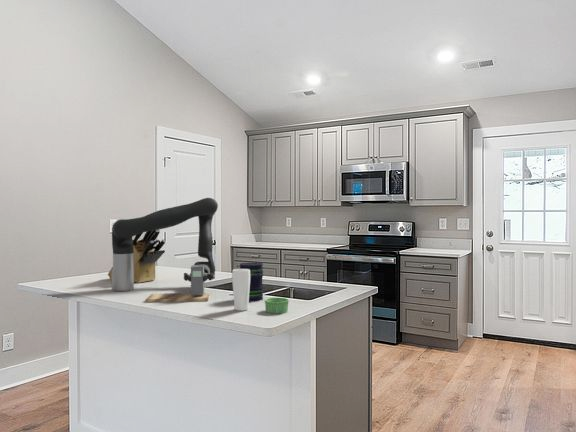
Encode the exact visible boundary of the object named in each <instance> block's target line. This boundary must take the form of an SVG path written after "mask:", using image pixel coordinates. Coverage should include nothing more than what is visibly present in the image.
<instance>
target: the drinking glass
mask: <svg viewBox="0 0 576 432" xmlns="http://www.w3.org/2000/svg"><path fill="white" fill-rule="evenodd" d="M231 274H232V275H231V279H232V280H231V281H232V283H231V284H232V293H233V294H232V295H233V305H234V306H233V309H234V311H237V312H238V311H239V312H244V311H248V310H249V303H250V302H249V291H250V269H240V268H234V269H232V273H231Z"/></svg>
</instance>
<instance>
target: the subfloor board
mask: <svg viewBox="0 0 576 432" xmlns="http://www.w3.org/2000/svg"><path fill="white" fill-rule="evenodd" d="M210 296H211V293H210V292H204V294H203V295H191V292H190V293H181V292H174V293H173V292H169V293H168V292H166V293H151V294H150V295H149V296H147V297H146V299H145V303H178V302H180V303H181V302H185V303H187V302H208V301H209V299H210Z"/></svg>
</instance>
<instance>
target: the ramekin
mask: <svg viewBox="0 0 576 432" xmlns="http://www.w3.org/2000/svg"><path fill="white" fill-rule="evenodd" d="M289 302H290V300H289V299H288V298H285V297H269V298H265V299H264V303H265V304H264V305H265V312H266V313H268V312H269V313H268V314H273V313H280V314H284V312H285V313H287V312H288V309H289Z"/></svg>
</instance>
